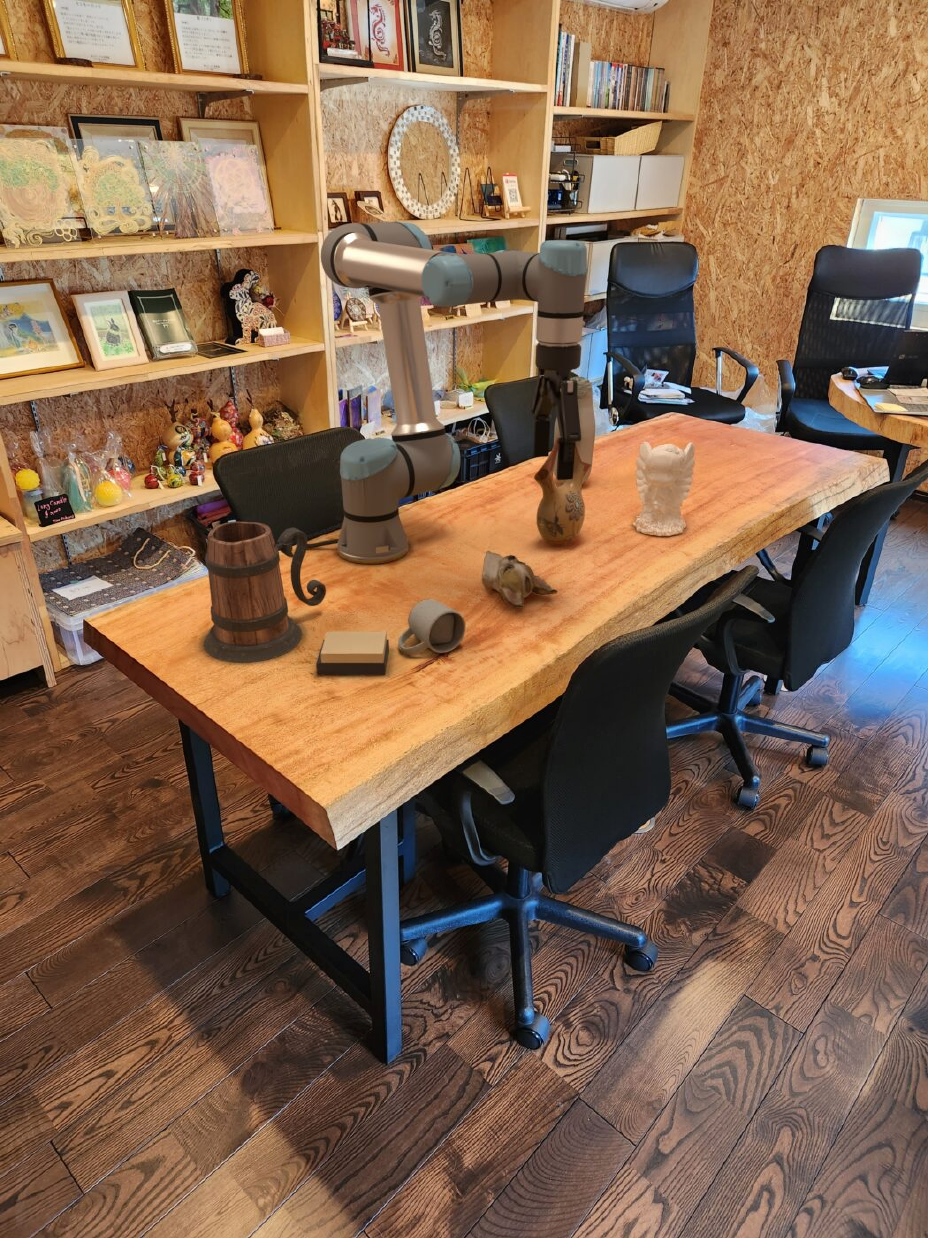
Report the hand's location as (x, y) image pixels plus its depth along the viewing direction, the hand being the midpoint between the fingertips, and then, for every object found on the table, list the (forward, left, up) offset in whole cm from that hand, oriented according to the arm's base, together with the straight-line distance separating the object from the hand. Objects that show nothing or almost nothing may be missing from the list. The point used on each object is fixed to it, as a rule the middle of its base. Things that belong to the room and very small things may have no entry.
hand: (552, 467), depth 147 cm
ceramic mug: (-17, -23, -26) cm, 39 cm away
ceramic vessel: (0, +28, -26) cm, 38 cm away
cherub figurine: (+21, +42, -26) cm, 54 cm away
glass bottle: (-1, +68, -26) cm, 73 cm away
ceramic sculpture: (-6, -1, -26) cm, 27 cm away
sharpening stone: (-28, -31, -26) cm, 49 cm away
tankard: (-46, -24, -26) cm, 58 cm away
